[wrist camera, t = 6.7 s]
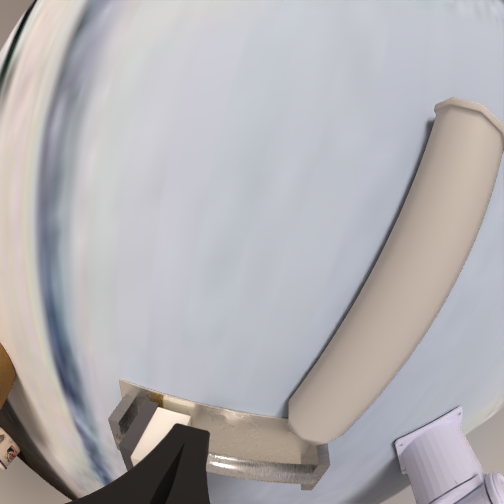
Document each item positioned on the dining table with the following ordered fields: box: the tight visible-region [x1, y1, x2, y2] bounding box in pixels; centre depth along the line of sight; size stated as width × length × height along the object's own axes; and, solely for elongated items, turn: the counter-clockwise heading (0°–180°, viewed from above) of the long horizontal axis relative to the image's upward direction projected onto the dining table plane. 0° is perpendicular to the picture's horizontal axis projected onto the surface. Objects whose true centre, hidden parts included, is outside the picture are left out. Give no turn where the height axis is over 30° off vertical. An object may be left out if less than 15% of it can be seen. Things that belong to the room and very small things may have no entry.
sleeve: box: [131, 407, 191, 466], centre depth 18 cm, size 3×6×6 cm, turn 172°
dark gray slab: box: [119, 399, 159, 471], centre depth 18 cm, size 1×6×6 cm, turn 171°
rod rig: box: [108, 379, 330, 490], centre depth 19 cm, size 20×8×5 cm, turn 82°
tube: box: [287, 97, 504, 446], centre depth 15 cm, size 5×5×25 cm
